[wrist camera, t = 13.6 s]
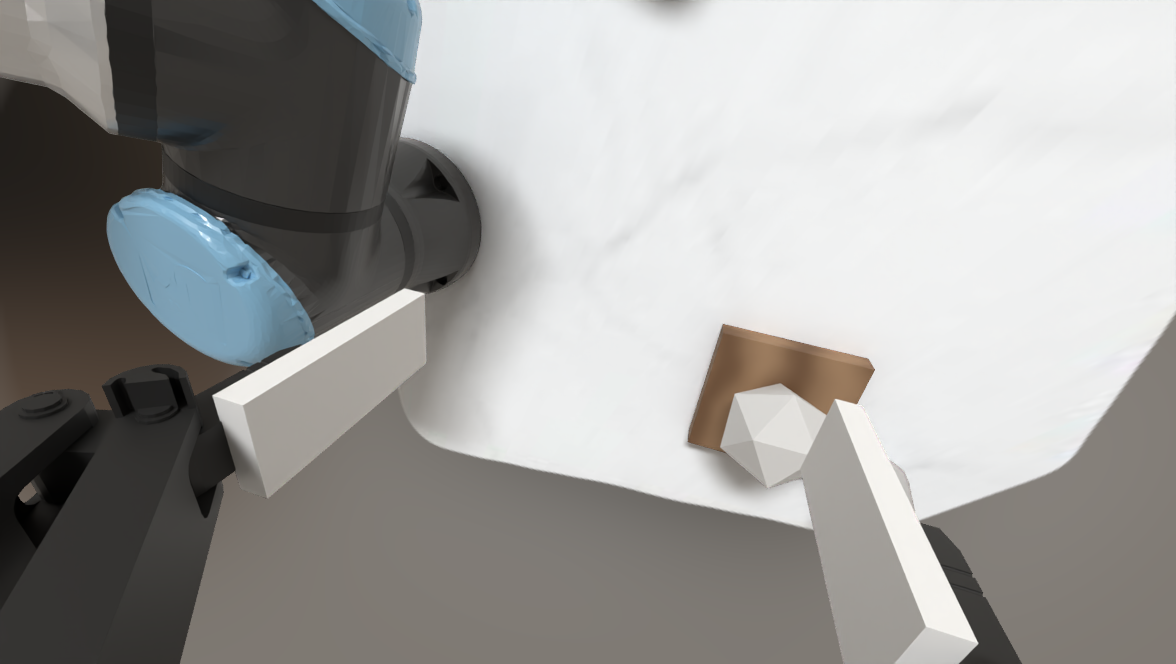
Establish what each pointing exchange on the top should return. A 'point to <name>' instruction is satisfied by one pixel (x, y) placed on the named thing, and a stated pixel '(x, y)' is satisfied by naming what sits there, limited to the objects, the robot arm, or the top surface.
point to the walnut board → (772, 377)
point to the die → (771, 433)
